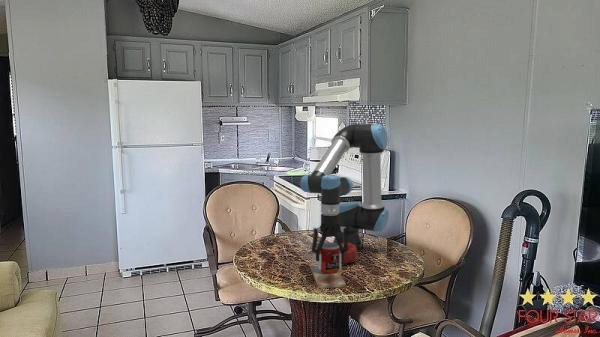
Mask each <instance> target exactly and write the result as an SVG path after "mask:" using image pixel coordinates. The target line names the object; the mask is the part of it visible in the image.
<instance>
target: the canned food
mask: <svg viewBox="0 0 600 337" xmlns="http://www.w3.org/2000/svg"><path fill="white" fill-rule="evenodd" d="M320 253H321V272H323V273H325V274H335V273H337V272H339V270H340V269H339V245H338V244H337V243H333V242H330V241H329V242H324V244H323V246H322V248H321V251H320Z"/></svg>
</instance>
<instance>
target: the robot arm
mask: <svg viewBox="0 0 600 337" xmlns="http://www.w3.org/2000/svg"><path fill="white" fill-rule="evenodd" d="M388 139H389V138H388V132H387V130H386V128H385V126H384V125H382V124H379V123H352V124H349V125H346V126H344V127H343V128H342V129H340V130H339V131H338V132H336V134H335V135H334V136H333V137H332V139H331V142H330V143H331V144H330V146H329V147H328V148H327V150H326V152H325V153H324V155H323V156H322V157H321V159H320V160H319V162H318V164H316V167H315V168H314V169H313V170H312V171H311V174H310V175H309V174H308V175H307V174H306V175H303V176H302V177H301V179H300V183H299V185H300V189H301V191H303V192H304V193H309V194H320V195H321V196H320V197H321V198H320V200H321V201H320V213H321V214H320V225H319V227H313V229H312V230H313V238H312V243H311V253H314V254H315V260H316V262H317V266H318V268H319V270H321V253H320V251H321V248H322V246H323V244H324V243H325V241H326V240H327V238H331V237H332V238H333V237H334V239H333V242H332V243H337V244H338V245H339V249H340V251H339V270H341V269H342V262H341V260H344V253H345V252H346V251H348V243H351V244H353V245H355V246H356V249H357V251H359V250H361V249H362V248H363V242H362V238H361V236H360V230H363V231H370V232H373V233H375V232H379V233H382V232H383V231H385V229H386V228H387V225H388V222H389V216H390V214H389V213H390V212H389V209H387V208H385V204H384V202H383V201H382V176H381V175H382V173H381V172H382V171H381V170H382V169H381V168H382V167H381V161H382V160H381V159H382V158H381V155H382V154H383V153H384V149H387V147H388V142H389V140H388ZM355 148H356V149H358V148H359V153H360V154H361V155H362V173H363V174H362V176H363V177H362V178H363V182H362V183H363V202H362V203H361V205H360V203H359V202H353V201H352V202H345V203H341V202H340V201H341V200H340V199H341V197H343V196H346V195H348V194H350V193H351V192H352V190H353V188H354V187H353V186H354V183H353V181H352V180H351V178H349V177H348V176H339V175H333V174H332V173H333V172H334V170H335V169H336V166H338V164H339V162H340V161H341V160H342V157H343V156H344V154H345V153H347V152H349V150H350V149H355ZM320 231H321V233H322V234H321V236H320V238H319V242H318V237H319V233H320ZM317 242H318V243H317ZM347 242H348V243H347ZM341 243H343V244H344V248H343V247H342V245H341Z"/></svg>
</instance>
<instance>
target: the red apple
mask: <svg viewBox="0 0 600 337" xmlns="http://www.w3.org/2000/svg"><path fill="white" fill-rule="evenodd" d="M347 243H348V242H347ZM341 245H342V247H343V248H344V244H343V243H341ZM339 251H340V249H339ZM357 255H358V250H357V249H356V246H355V245H353V244H351V243H348V251H346V252H345V253H344V260H341V264H342V263H343V264H345V265H347V264H353V263H354V262H355V261H356V259H357V257H358V256H357Z"/></svg>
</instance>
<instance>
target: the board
mask: <svg viewBox="0 0 600 337" xmlns="http://www.w3.org/2000/svg"><path fill="white" fill-rule="evenodd" d="M309 270H310V272H311V274H312V277H313V278H314V280H315V283H316V285H317V287H318V288H319V289H329V288H346V287H347V283H346V281H345V280H344V278H343V277H342V275H341V274H340V273H339V271H338V272H337V273H335V274H325V273H323V272H321V270H319V268H318V265H315V266H314V265H310V266H309Z"/></svg>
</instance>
